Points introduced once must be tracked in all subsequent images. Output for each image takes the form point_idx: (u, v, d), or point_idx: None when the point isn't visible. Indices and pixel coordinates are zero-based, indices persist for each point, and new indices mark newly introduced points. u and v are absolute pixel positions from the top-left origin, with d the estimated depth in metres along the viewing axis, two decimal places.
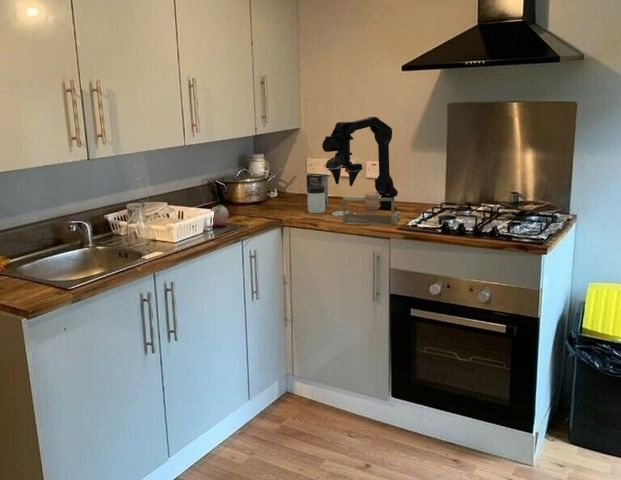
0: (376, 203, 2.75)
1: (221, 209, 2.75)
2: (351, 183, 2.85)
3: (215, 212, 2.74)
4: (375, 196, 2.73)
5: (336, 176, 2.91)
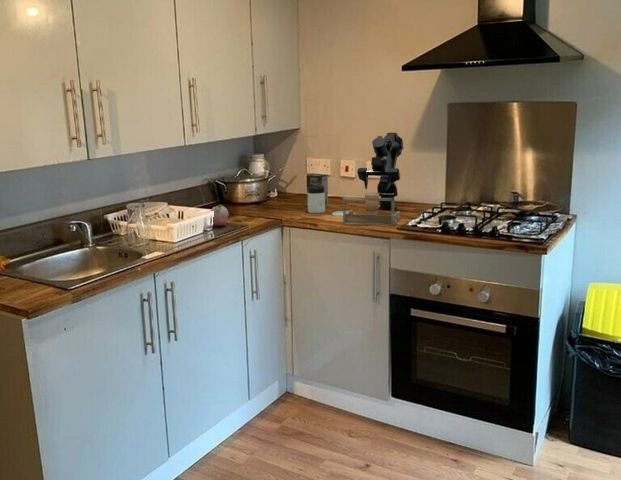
0: (376, 203, 2.75)
1: (221, 209, 2.75)
2: (387, 186, 2.82)
3: (215, 212, 2.74)
4: (375, 196, 2.73)
5: (366, 182, 2.86)
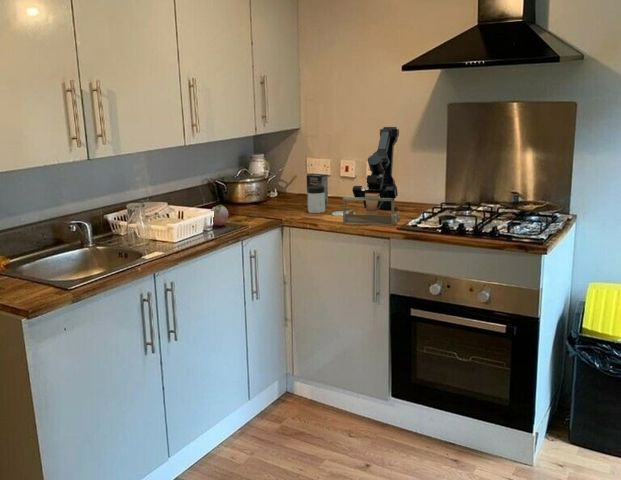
0: (376, 203, 2.75)
1: (221, 209, 2.75)
2: (379, 205, 2.75)
3: (215, 212, 2.74)
4: (375, 196, 2.73)
5: (365, 200, 2.79)
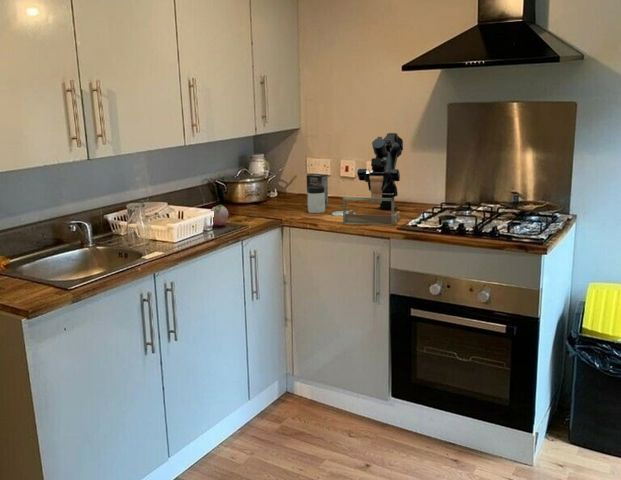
0: (380, 185, 2.82)
1: (221, 209, 2.75)
2: (383, 187, 2.83)
3: (215, 212, 2.74)
4: (379, 178, 2.81)
5: None
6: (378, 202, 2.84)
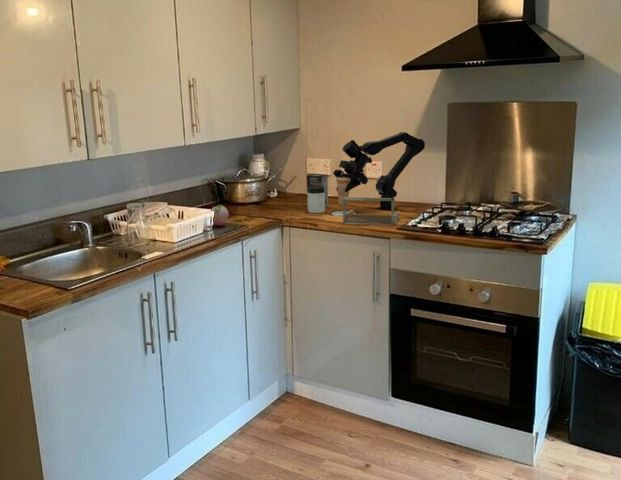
0: (344, 187, 2.92)
1: (221, 209, 2.75)
2: (347, 189, 2.92)
3: (215, 212, 2.74)
4: (342, 180, 2.91)
5: None
6: (342, 203, 2.94)
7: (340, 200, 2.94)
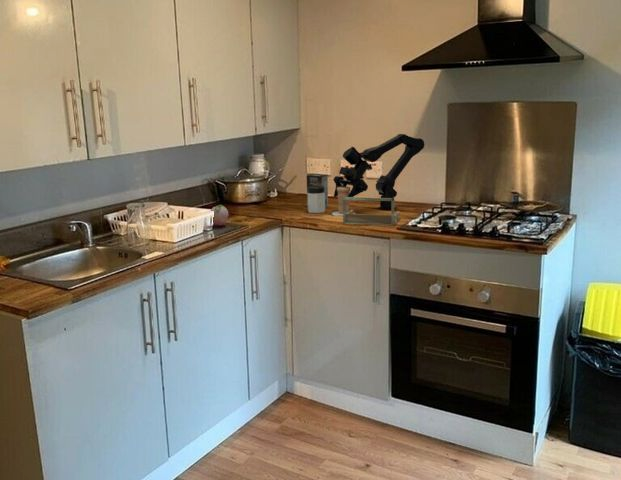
0: None
1: (221, 209, 2.75)
2: (349, 196, 2.91)
3: (215, 212, 2.74)
4: (342, 190, 2.92)
5: None
6: (342, 212, 2.95)
7: (340, 210, 2.95)
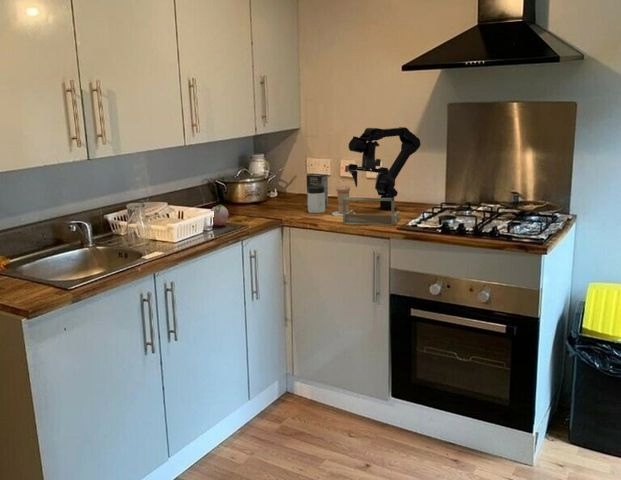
0: None
1: (221, 209, 2.75)
2: (377, 186, 2.97)
3: (215, 212, 2.74)
4: (342, 190, 2.92)
5: None
6: (342, 212, 2.95)
7: (340, 210, 2.95)
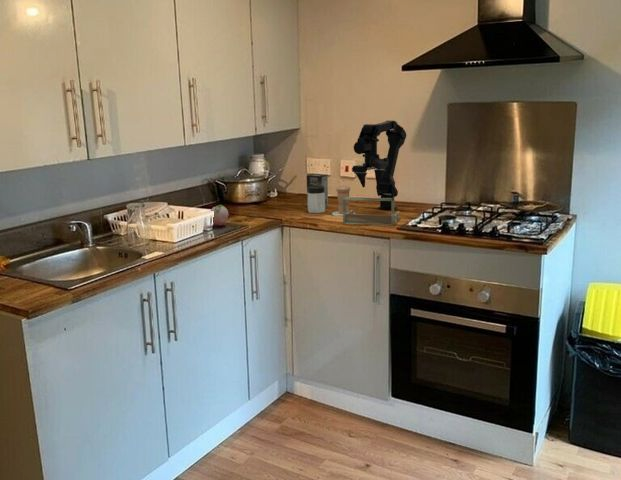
0: None
1: (221, 209, 2.75)
2: None
3: (215, 212, 2.74)
4: (342, 190, 2.92)
5: None
6: (342, 212, 2.95)
7: (340, 210, 2.95)
